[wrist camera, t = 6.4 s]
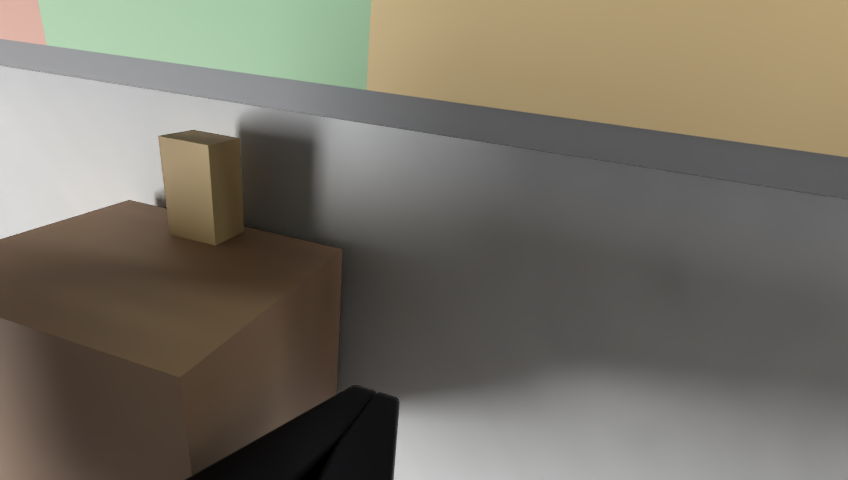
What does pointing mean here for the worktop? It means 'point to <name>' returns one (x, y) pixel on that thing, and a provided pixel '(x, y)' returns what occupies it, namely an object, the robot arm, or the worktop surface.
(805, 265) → the worktop surface
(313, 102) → the tuner gauge
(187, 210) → the block
